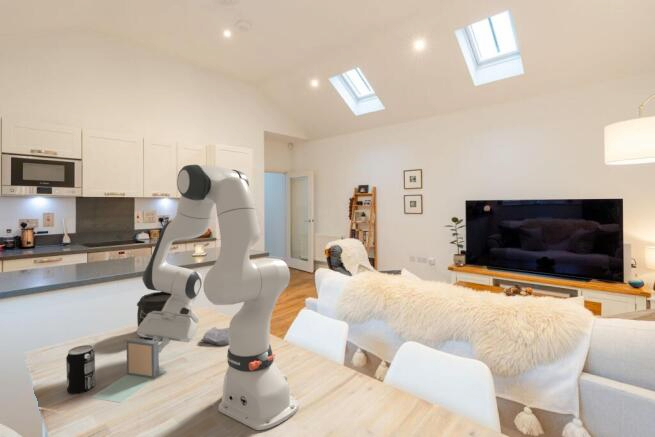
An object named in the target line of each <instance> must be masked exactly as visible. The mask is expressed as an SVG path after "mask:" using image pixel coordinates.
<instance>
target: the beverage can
mask: <svg viewBox="0 0 655 437" xmlns="http://www.w3.org/2000/svg"><path fill="white" fill-rule="evenodd" d="M95 352H96V351H95V350H94V348H93V345H89V344H85V345H79V346H75V347H73V348H70V349H69V350H68V351H67V356H66V357H65V360H66V389H67V390H66V392H67V393H68V394H70V395H79V394H83V393H86V392H88V391H90V390H91V389H93V388H94V387H95V385H96V363H95V362H96V357H95V356H96V355H95Z"/></svg>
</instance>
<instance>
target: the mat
mask: <svg viewBox="0 0 655 437" xmlns="http://www.w3.org/2000/svg"><path fill="white" fill-rule="evenodd" d="M165 372H167V369H163V368H162V369H161V368H159V376H161V375H162V374H164V373H165ZM159 376H157V377H156V378H158V377H159ZM152 381H154V379H152V378H146V377H139V376H133V375H127V374H126V375H124V376H122V377H121V378H119V379H117V380H116V381H114V382H113V383H111V384H109V385H108V386H106V387H104V388H102V389H101V390H100V391H98V392H96V393H94V394H93V395H92V396H90V398H92V399H97V400H103V401H108V402H113V403H115V402H116V403H122V402H123V401H125V400H127V399H128V398H129V397H131V396H132V395H134V394H135V393H137V392H138V391H139V390H141V389H142V388H144V387H145V386H147V384H149V383H151V382H152Z"/></svg>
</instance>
